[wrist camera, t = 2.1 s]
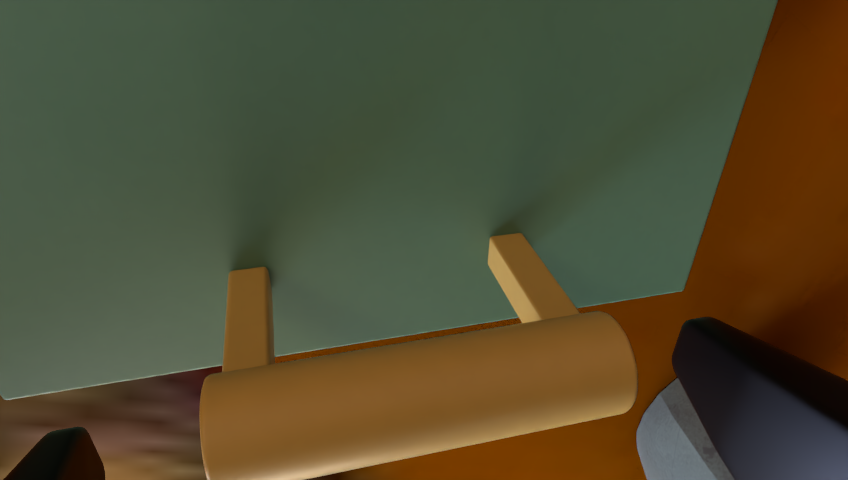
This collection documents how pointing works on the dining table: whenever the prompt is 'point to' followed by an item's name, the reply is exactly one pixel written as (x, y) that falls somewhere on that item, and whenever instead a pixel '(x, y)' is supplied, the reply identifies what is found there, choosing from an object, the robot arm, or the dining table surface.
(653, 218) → the box lid
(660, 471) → the bottle
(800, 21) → the dining table surface
